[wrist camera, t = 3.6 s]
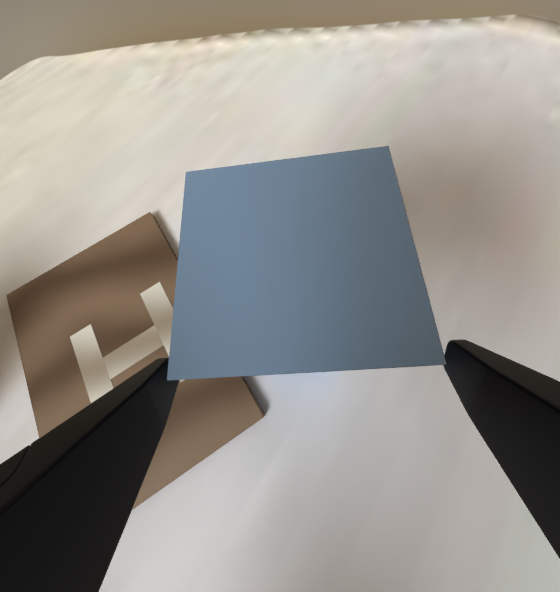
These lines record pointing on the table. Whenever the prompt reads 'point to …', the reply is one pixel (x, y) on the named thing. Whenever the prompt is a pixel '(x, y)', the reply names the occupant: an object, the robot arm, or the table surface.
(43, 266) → the table surface
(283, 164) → the blue pillar
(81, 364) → the letter board
